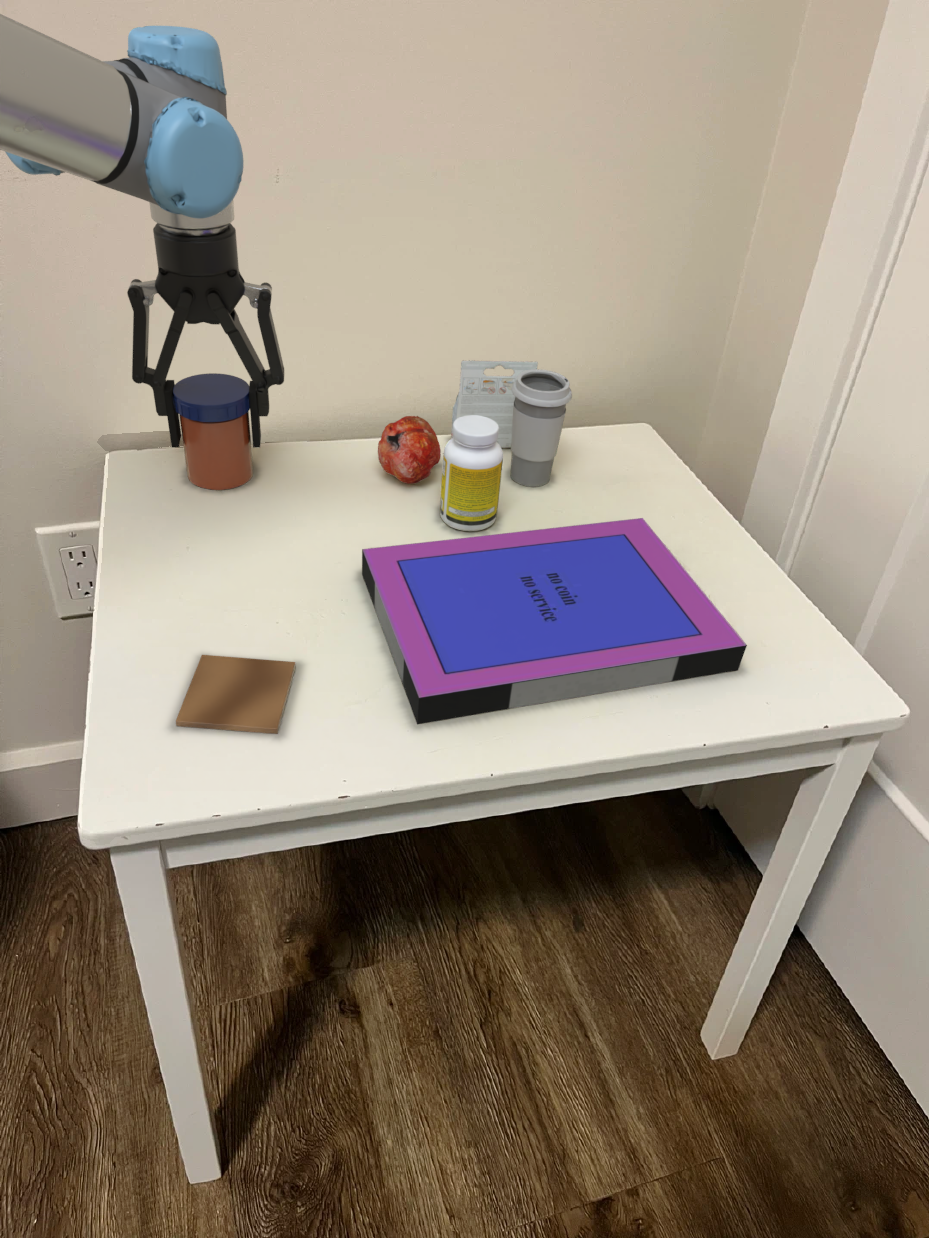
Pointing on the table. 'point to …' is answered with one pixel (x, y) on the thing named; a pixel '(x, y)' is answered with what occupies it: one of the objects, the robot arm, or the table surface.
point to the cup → (537, 424)
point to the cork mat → (237, 694)
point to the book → (542, 617)
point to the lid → (211, 397)
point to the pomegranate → (409, 449)
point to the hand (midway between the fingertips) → (217, 441)
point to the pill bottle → (471, 474)
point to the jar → (218, 452)
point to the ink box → (489, 394)
